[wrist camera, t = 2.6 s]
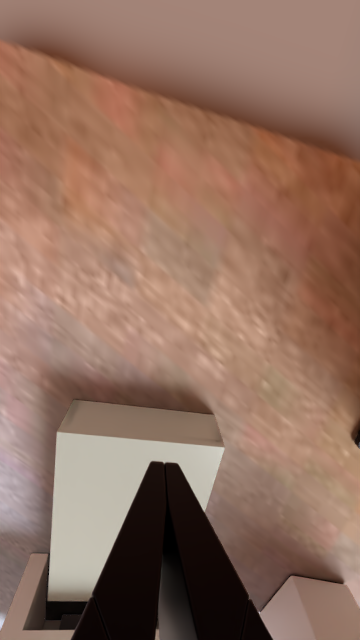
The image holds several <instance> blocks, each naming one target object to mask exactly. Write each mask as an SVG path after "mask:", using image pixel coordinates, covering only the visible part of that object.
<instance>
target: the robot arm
mask: <svg viewBox="0 0 360 640" xmlns="http://www.w3.org/2000/svg"><path fill="white" fill-rule="evenodd" d="M355 444H356V445H357V446H358V448H359V449H360V431H359V433H358V435H357V437H356V439H355ZM248 599H249V595H248V593H247V591H246V589H245V587H244V585H243V583H242V581H241V580H240V578H239V576H238V574H237V572H236V570H235V568H234V566H233V565H232V563H231V561H230V559H229V557H228V555H227V553H226V552H225V550H224V548H223V546H222V544H221V542H220V540H219V538H218V537H217V535H216V533H215V531H214V529H213V527H212V525H211V524H210V522H209V520H208V518H207V516H206V514H205V512H204V510H203V509H202V507H201V505H200V503H199V501H198V499H197V497H196V496H195V494H194V492H193V490H192V488H191V486H190V484H189V482H188V481H187V479H186V477H185V475H184V473H183V471H182V469H181V468H180V466H179V464H178V463H172V462H166V463H163V462H161V461H151V462H150V464H149V466H148V468H147V470H146V472H145V475H144V477H143V479H142V481H141V484H140V486H139V488H138V490H137V493H136V495H135V497H134V499H133V502H132V504H131V506H130V508H129V511H128V513H127V515H126V518H125V520H124V522H123V524H122V527H121V529H120V531H119V533H118V536H117V538H116V540H115V542H114V545H113V547H112V549H111V551H110V554H109V556H108V558H107V560H106V563H105V565H104V567H103V569H102V572H101V574H100V576H99V578H98V581H97V583H96V585H95V587H94V590H93V592H92V596H91V597H90V598H89V600H88V603H87V605H86V607H85V609H84V612H83V614H82V616H81V618H80V621H79V623H78V625H77V627H76V629H75V631H74V633H73V635H72V638H71V640H155V637H156V625H157V614H158V619H159V640H273V638H272V637H271V635H270V633H269V631H268V629H267V628H266V626H265V624H264V622H263V621H262V619H261V617H260V615H259V613H258V611H257V609H256V607H255V605H254V604H253V602H252V600H251V599H249V600H248Z"/></svg>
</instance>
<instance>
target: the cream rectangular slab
mask: <svg viewBox="0 0 360 640" xmlns="http://www.w3.org/2000/svg"><path fill="white" fill-rule="evenodd" d="M224 449H225V446H224V443H223V440H222V437H221V433H220V430H219V427H218V424H217V420H216V417H215V415H211V414H201V413H192V412H183V411H174V410H165V409H156V408H147V407H138V406H128V405H119V404H110V403H101V402H92V401H83V400H73V402H72V403H71V405H70V407H69V409H68V411H67V413H66V415H65V417H64V419H63V421H62V423H61V425H60V427H59V429H58V431H57V438H56V456H55V475H54V493H53V512H52V530H51V548H50V567H49V585H48V601H88V600H89V598H90V597H91V596H92V592H93V590H94V587H95V585H96V583H97V581H98V578H99V576H100V574H101V572H102V569H103V567H104V565H105V563H106V560H107V558H108V556H109V554H110V551H111V549H112V547H113V545H114V542H115V540H116V538H117V536H118V533H119V531H120V529H121V527H122V524H123V522H124V520H125V518H126V515H127V513H128V511H129V508H130V506H131V504H132V502H133V499H134V497H135V495H136V493H137V490H138V488H139V486H140V484H141V481H142V479H143V477H144V475H145V472H146V470H147V468H148V466H149V464H150V462H151V461H161V462H163V463H166V462H172V463H178V464H179V466H180V468H181V469H182V471H183V473H184V475H185V477H186V479H187V481H188V482H189V484H190V486H191V488H192V490H193V492H194V494H195V496H196V497H197V499H198V501H199V503H200V505H201V507H202V509H203V510H204V512H205V510H206V507H207V504H208V500H209V497H210V494H211V491H212V487H213V484H214V481H215V478H216V475H217V471H218V468H219V465H220V462H221V458H222V455H223V452H224Z"/></svg>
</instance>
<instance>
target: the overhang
mask: <svg viewBox="0 0 360 640" xmlns="http://www.w3.org/2000/svg"><path fill="white" fill-rule="evenodd" d="M48 556H49V554H42V553H31V556H30V558H29V561H28V563H27V566H26V568H25V571H24V573H23V576H22V578H21V581H20V583H19V586H18V588H17V591H16V593H15V596H14V598H13V601H12V603H11V606H10V608H9V611H8V613H7V616H6V618H5V621H4V623H3V626H2V628H1V631H0V640H71V638H72V635H73V633H74V631H75V629H76V627H77V625H78V623H79V621H80V618H81V616H82V615H62V619H61V620H58V621H45V614H46V594H47V575H48ZM155 640H159V620H157V625H156V637H155Z"/></svg>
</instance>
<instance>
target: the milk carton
mask: <svg viewBox="0 0 360 640" xmlns="http://www.w3.org/2000/svg"><path fill="white" fill-rule="evenodd" d="M260 617H261V619H262V621H263V622H264V624H265V626H266V628H267V629H268V631H269V633H270V635H271V637H272V638H273V640H360V608H359V606H358V605H357V603H356V601H355V599H354V597H353V595H352V593H351V592H350V590H349V588H348V586H347V585H343V584H338V583H332V582H326V581H321V580H315V579H309V578H304V577H298V576H290V577H289V578H288V580H287V581H286V582H285V583H284V585H283V586H282V587H281V588H280V589H279V591H278V592H277V593H276V594H275V596H274V597H273V598H272V599H271V601H270V602H269V603H268V604H267V605H266V607H265V608H264V609H263V610H262V612H261V613H260Z"/></svg>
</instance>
